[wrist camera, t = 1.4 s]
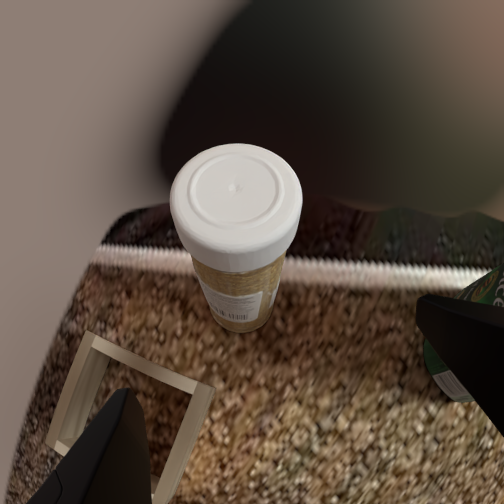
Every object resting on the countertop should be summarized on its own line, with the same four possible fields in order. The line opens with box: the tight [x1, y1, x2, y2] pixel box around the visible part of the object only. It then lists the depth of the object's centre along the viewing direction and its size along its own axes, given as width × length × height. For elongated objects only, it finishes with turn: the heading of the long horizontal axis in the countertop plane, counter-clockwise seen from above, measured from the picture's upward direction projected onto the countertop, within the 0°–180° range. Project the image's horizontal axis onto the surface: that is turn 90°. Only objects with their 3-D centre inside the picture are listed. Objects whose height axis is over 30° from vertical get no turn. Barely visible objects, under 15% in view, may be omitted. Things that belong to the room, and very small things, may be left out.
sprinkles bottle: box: [170, 144, 302, 333], centre depth 17 cm, size 5×5×14 cm
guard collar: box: [45, 330, 216, 504], centre depth 17 cm, size 9×9×4 cm
